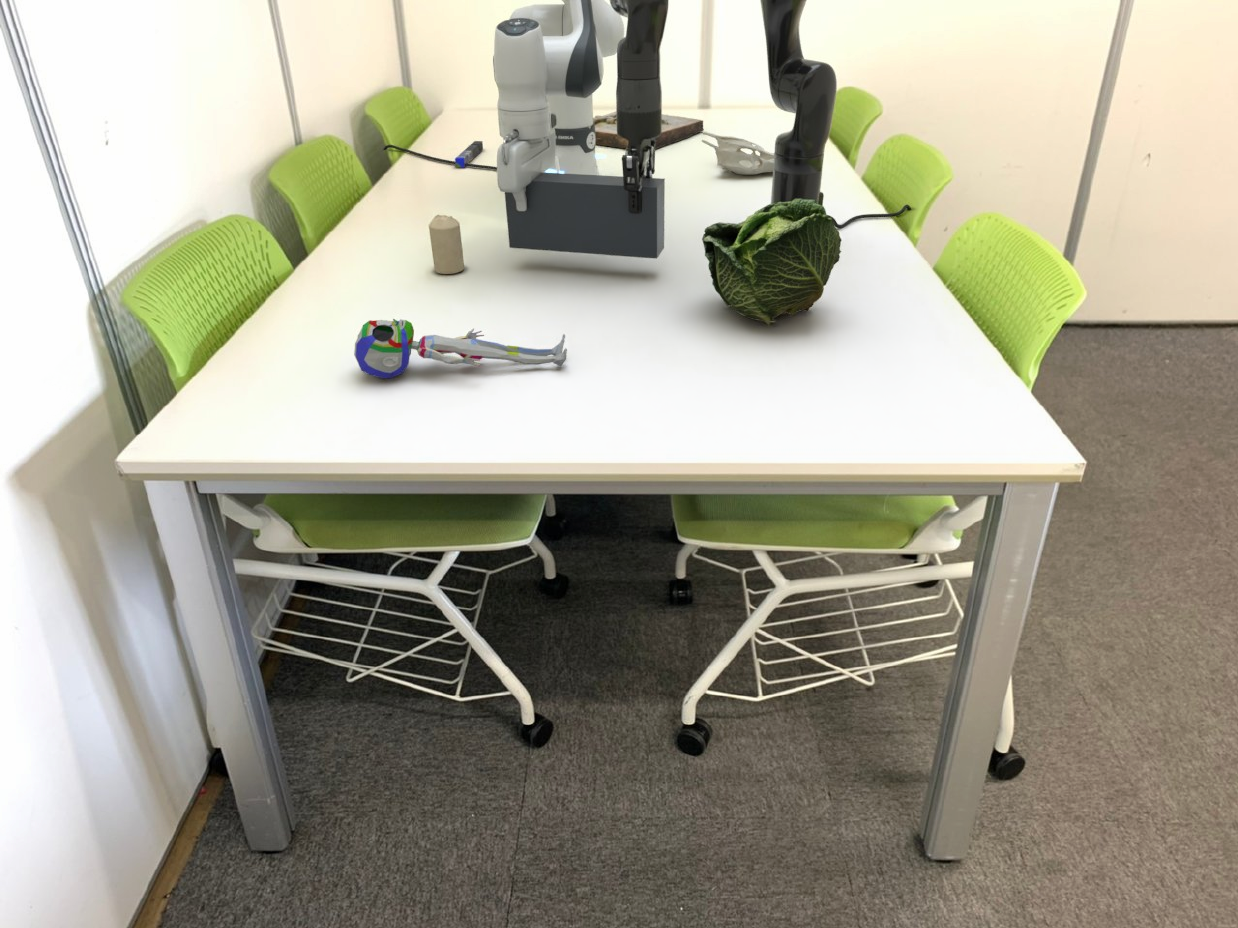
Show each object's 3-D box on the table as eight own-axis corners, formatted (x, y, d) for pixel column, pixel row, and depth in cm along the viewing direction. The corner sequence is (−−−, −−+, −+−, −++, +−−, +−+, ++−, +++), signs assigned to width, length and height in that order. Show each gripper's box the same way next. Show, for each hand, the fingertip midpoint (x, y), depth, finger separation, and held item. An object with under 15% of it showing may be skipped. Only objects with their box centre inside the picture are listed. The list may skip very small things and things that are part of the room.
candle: (469, 265, 169) (463, 213, 163) (455, 275, 164) (449, 221, 159) (443, 262, 170) (437, 210, 165) (429, 272, 166) (422, 219, 160)
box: (509, 248, 165) (503, 179, 158) (520, 238, 169) (515, 171, 163) (656, 258, 158) (657, 187, 152) (664, 248, 163) (664, 178, 156)
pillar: (482, 141, 246) (462, 159, 229) (483, 149, 247) (463, 167, 230) (474, 141, 246) (454, 159, 230) (475, 149, 247) (455, 167, 231)
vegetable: (733, 339, 155) (677, 239, 148) (822, 277, 157) (772, 174, 149) (783, 360, 137) (723, 247, 129) (884, 290, 138) (830, 173, 131)
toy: (569, 347, 126) (349, 329, 122) (563, 400, 131) (350, 385, 126) (565, 318, 135) (359, 301, 130) (559, 369, 139) (360, 354, 134)
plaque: (647, 125, 237) (559, 112, 252) (647, 153, 241) (560, 139, 256) (706, 107, 258) (622, 97, 273) (705, 133, 262) (622, 121, 277)
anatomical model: (704, 128, 226) (804, 127, 222) (703, 165, 231) (801, 165, 227) (699, 142, 214) (805, 141, 210) (699, 181, 219) (803, 181, 215)
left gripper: (520, 138, 146) (526, 222, 153) (560, 113, 162) (563, 190, 170) (484, 137, 147) (491, 220, 155) (527, 112, 164) (532, 188, 171)
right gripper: (650, 115, 141) (650, 221, 150) (670, 98, 153) (669, 197, 162) (605, 114, 143) (607, 218, 152) (628, 97, 155) (629, 195, 164)
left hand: (529, 204), depth 162 cm, fingers closed on box, 6 cm apart
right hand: (639, 207), depth 157 cm, fingers closed on box, 5 cm apart
